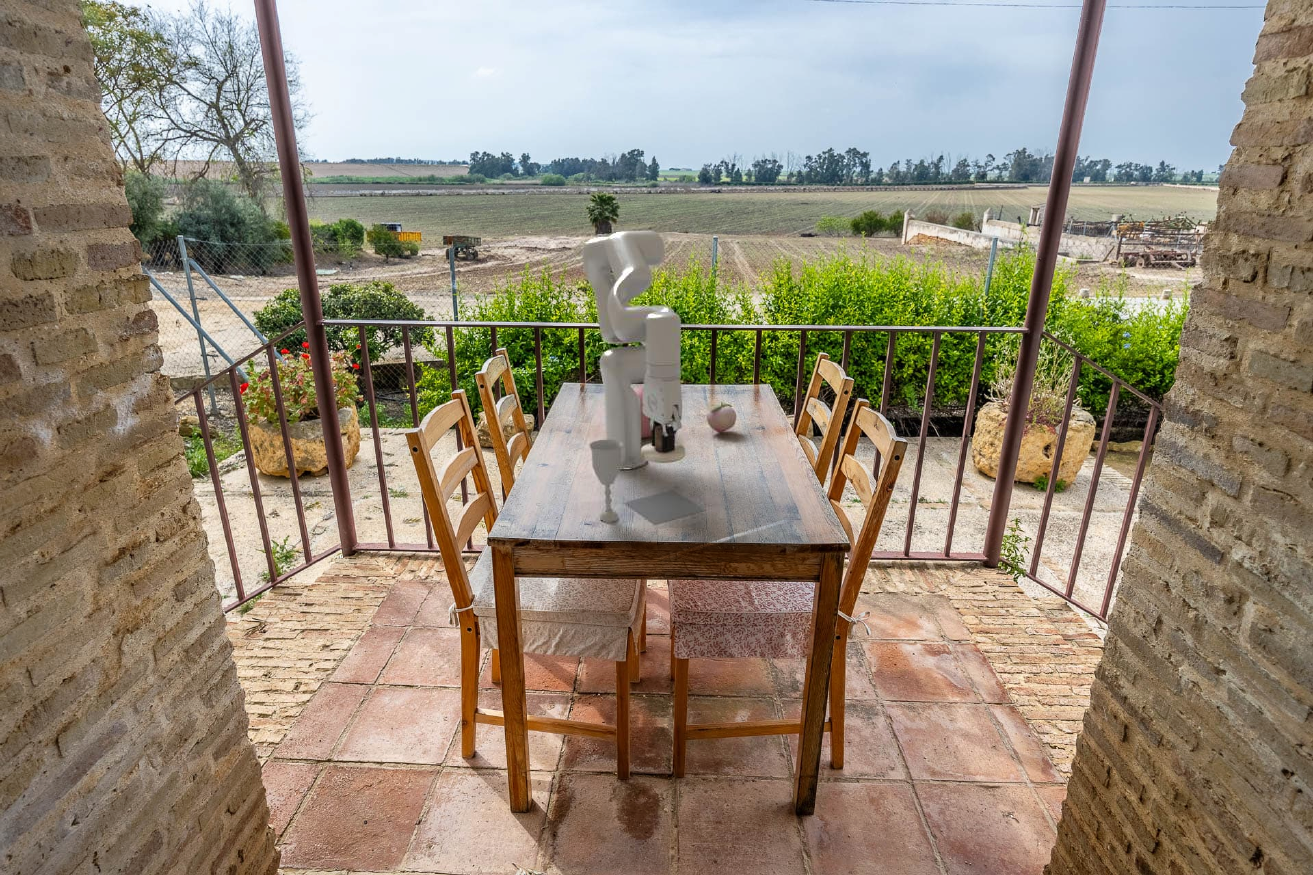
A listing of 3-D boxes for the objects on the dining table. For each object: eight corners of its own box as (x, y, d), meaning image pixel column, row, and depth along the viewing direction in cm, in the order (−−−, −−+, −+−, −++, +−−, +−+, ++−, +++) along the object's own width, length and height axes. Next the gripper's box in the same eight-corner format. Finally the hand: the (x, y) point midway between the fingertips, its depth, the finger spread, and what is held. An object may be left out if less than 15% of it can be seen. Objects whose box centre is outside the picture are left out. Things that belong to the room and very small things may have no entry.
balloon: (669, 424, 223) (668, 377, 218) (664, 445, 204) (663, 394, 199) (621, 423, 224) (619, 377, 219) (611, 444, 206) (610, 394, 201)
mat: (623, 504, 165) (623, 502, 165) (673, 492, 172) (673, 489, 171) (654, 527, 153) (654, 524, 153) (706, 512, 160) (706, 510, 160)
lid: (632, 452, 160) (632, 425, 158) (669, 443, 165) (669, 418, 163) (656, 466, 152) (655, 438, 150) (693, 457, 157) (694, 430, 155)
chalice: (625, 513, 160) (623, 439, 155) (624, 526, 154) (622, 449, 148) (593, 514, 160) (589, 439, 154) (591, 527, 154) (588, 450, 148)
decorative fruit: (725, 440, 208) (726, 407, 205) (702, 435, 213) (702, 403, 210) (741, 431, 215) (742, 400, 212) (719, 427, 220) (719, 396, 217)
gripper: (629, 364, 157) (630, 440, 163) (668, 381, 143) (668, 463, 150) (657, 359, 160) (658, 434, 167) (699, 375, 147) (697, 456, 154)
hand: (663, 447), depth 158 cm, fingers closed on lid, 3 cm apart
